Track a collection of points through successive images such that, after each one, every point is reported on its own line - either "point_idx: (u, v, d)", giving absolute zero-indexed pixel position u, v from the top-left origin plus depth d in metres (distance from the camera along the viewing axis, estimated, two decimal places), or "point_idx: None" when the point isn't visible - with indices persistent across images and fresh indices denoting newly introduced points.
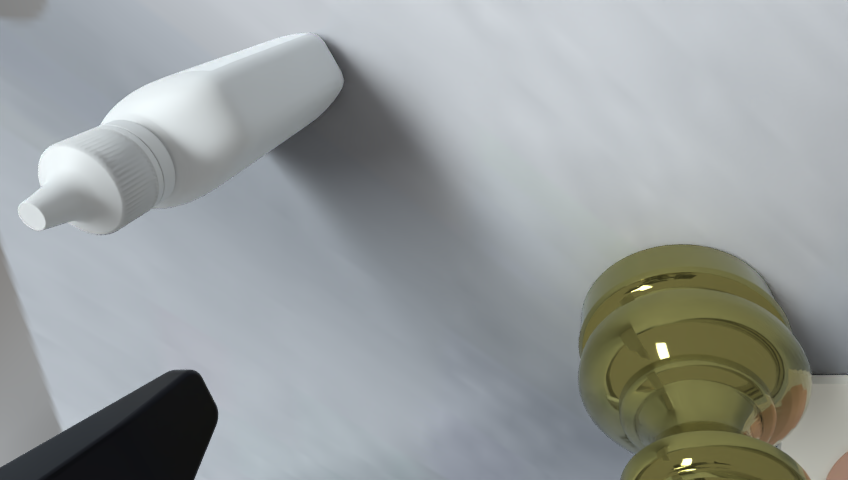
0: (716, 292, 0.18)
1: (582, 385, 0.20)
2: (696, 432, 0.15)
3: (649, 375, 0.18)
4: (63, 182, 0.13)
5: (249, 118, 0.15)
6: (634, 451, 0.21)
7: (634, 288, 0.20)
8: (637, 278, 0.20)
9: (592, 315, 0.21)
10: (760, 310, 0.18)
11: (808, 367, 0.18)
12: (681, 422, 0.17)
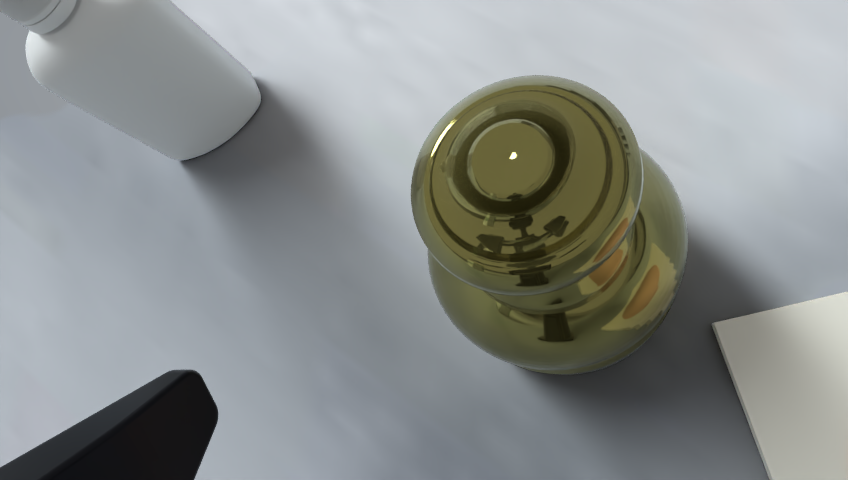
0: None
1: (429, 257, 0.17)
2: None
3: None
4: None
5: None
6: (498, 335, 0.15)
7: None
8: None
9: None
10: None
11: (660, 168, 0.16)
12: None
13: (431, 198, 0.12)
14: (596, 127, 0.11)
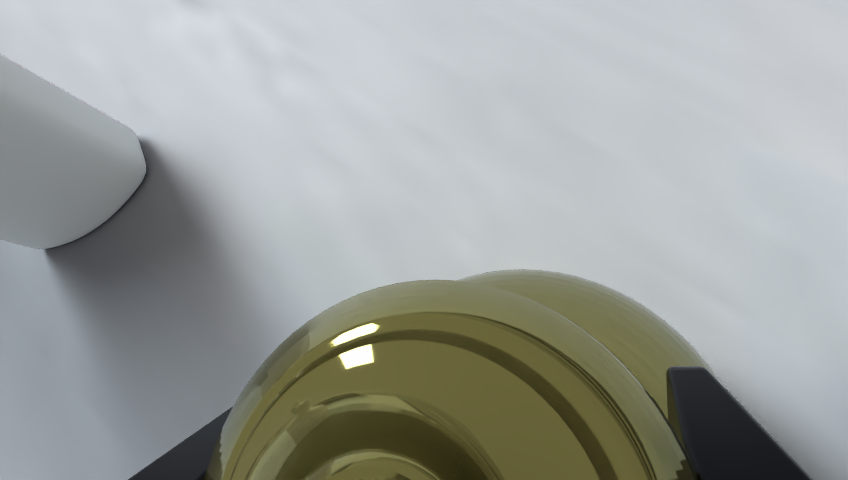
0: None
1: None
2: None
3: None
4: None
5: None
6: None
7: None
8: None
9: None
10: None
11: None
12: None
13: None
14: (601, 477, 0.04)
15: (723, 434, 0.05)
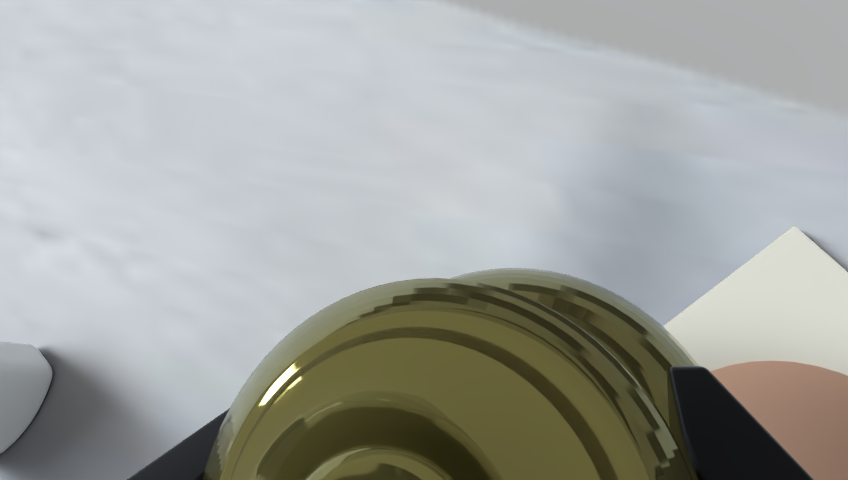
0: None
1: None
2: None
3: None
4: None
5: None
6: None
7: None
8: None
9: None
10: None
11: None
12: None
13: None
14: (599, 470, 0.04)
15: (723, 434, 0.05)
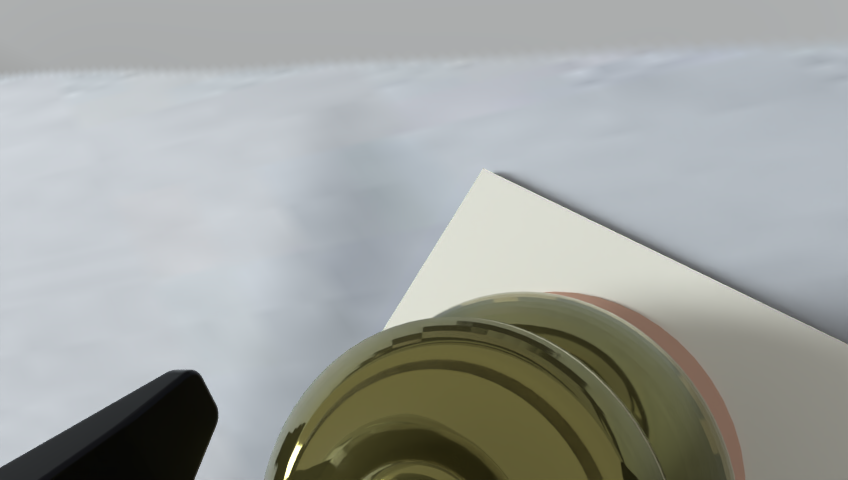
0: None
1: None
2: None
3: None
4: None
5: None
6: None
7: None
8: None
9: None
10: None
11: (694, 390, 0.10)
12: None
13: None
14: None
15: None
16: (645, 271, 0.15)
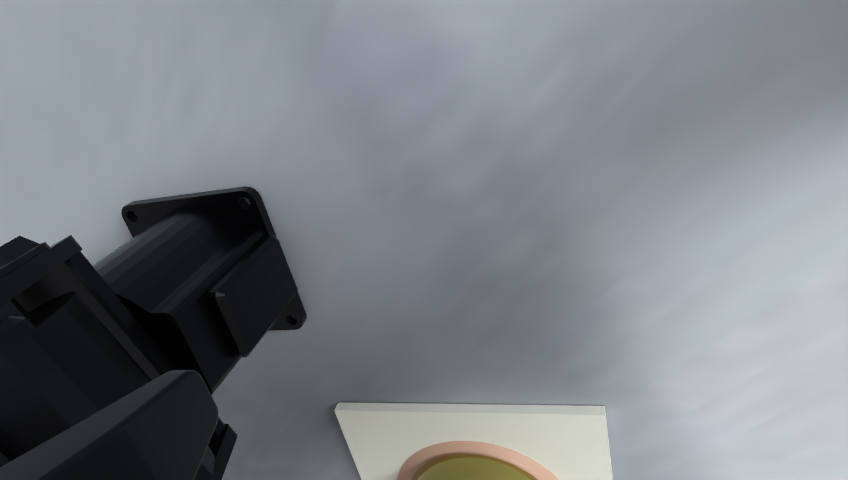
0: None
1: None
2: None
3: None
4: None
5: None
6: None
7: None
8: None
9: None
10: None
11: None
12: None
13: None
14: None
15: None
16: None
